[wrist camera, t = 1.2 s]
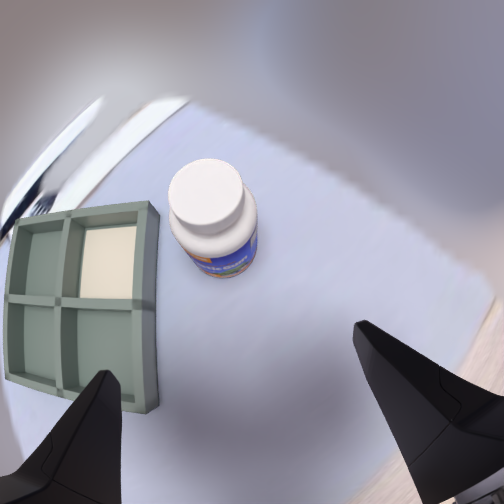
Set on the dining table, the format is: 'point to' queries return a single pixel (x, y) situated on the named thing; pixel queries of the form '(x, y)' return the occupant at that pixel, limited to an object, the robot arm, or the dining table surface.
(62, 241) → the divided tray
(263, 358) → the dining table surface
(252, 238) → the pill bottle
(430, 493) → the robot arm
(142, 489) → the dining table surface
